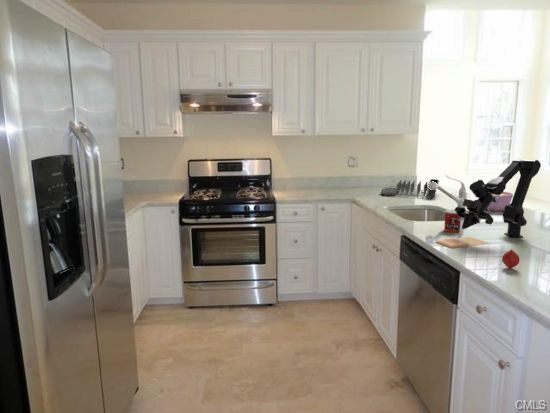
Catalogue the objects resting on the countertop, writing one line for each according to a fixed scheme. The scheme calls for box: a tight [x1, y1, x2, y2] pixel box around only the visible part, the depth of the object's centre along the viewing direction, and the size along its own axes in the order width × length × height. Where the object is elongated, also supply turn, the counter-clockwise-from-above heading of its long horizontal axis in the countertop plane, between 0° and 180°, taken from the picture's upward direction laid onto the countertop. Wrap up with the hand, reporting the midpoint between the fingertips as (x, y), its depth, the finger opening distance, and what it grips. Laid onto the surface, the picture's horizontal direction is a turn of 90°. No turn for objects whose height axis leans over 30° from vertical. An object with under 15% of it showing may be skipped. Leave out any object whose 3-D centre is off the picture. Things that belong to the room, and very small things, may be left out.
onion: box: [501, 248, 520, 269], centre depth 152 cm, size 6×6×8 cm
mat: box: [456, 236, 490, 247], centre depth 189 cm, size 12×12×1 cm
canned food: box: [443, 209, 462, 233], centre depth 208 cm, size 8×8×11 cm
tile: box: [435, 237, 469, 249], centre depth 185 cm, size 2×10×10 cm
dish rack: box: [380, 178, 440, 199], centre depth 326 cm, size 34×44×12 cm
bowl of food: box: [487, 191, 514, 212], centre depth 260 cm, size 20×20×12 cm
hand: (462, 228), depth 185 cm, fingers closed
